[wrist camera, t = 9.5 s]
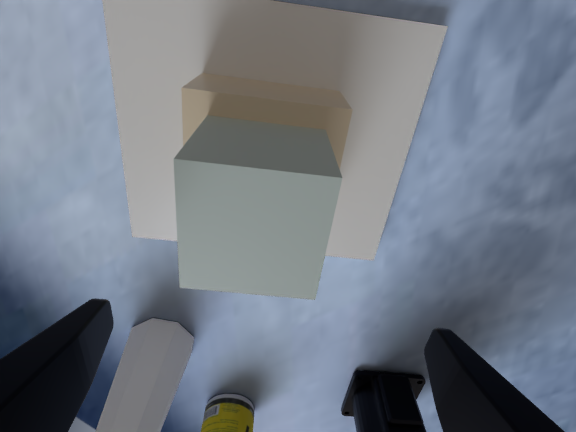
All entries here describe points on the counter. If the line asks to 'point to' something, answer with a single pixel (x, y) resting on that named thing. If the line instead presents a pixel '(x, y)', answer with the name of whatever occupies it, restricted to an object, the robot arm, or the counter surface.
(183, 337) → the pepper shaker
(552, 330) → the counter surface
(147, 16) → the build base
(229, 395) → the supplement bottle
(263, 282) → the sage cube
